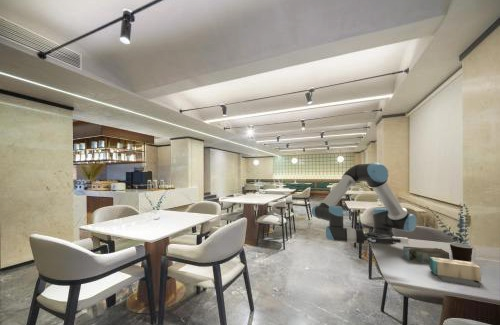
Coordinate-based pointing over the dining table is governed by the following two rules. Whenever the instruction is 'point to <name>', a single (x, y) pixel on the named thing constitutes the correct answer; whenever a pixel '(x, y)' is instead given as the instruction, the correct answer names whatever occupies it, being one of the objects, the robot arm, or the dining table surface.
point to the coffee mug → (461, 252)
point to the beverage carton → (424, 254)
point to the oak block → (455, 268)
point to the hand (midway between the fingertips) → (407, 240)
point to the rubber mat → (458, 280)
